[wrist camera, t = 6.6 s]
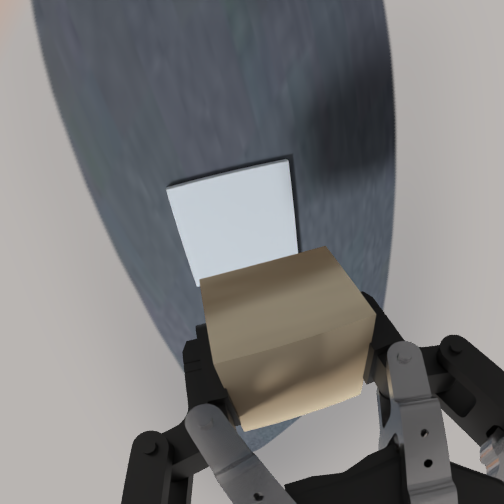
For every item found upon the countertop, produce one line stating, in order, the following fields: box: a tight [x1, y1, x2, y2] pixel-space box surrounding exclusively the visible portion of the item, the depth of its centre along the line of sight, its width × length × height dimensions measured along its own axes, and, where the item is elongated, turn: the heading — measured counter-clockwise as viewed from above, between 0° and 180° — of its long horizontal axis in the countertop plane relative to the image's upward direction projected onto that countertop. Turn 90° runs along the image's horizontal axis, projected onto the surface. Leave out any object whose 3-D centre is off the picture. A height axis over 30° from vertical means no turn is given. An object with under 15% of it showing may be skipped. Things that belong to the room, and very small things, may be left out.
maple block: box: [199, 246, 376, 432], centre depth 12 cm, size 5×5×4 cm
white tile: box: [166, 159, 298, 287], centre depth 19 cm, size 7×7×1 cm
